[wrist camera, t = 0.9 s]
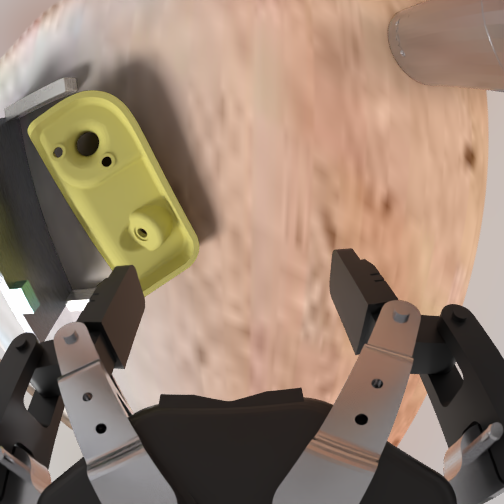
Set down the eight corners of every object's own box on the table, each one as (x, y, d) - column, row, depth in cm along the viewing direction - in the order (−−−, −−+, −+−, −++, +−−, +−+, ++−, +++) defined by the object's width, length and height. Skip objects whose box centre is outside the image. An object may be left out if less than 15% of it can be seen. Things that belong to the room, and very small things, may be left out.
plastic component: (207, 255, 29) (125, 310, 27) (186, 234, 35) (118, 278, 33) (114, 71, 19) (13, 134, 16) (111, 87, 25) (32, 136, 22)
